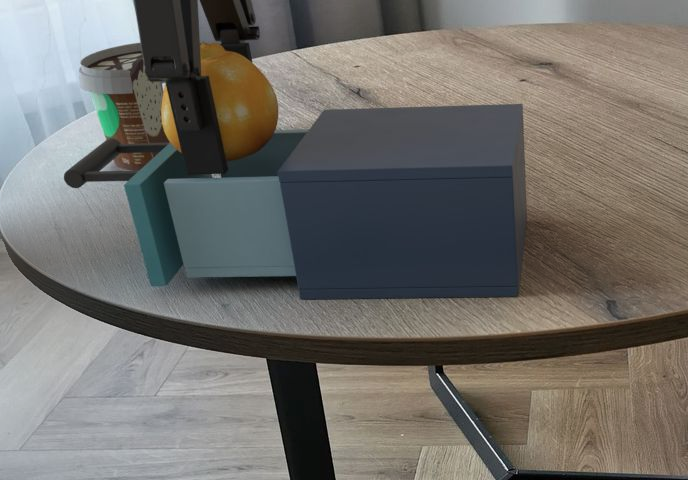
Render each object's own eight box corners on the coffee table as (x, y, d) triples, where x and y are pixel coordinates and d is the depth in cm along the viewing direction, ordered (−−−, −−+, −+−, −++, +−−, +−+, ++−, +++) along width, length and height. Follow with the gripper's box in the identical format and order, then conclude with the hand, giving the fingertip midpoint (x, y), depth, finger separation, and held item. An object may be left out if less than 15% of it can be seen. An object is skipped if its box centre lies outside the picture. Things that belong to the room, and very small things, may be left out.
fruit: (162, 110, 73) (147, 26, 66) (271, 103, 75) (267, 21, 68) (173, 194, 69) (158, 115, 62) (287, 184, 71) (285, 106, 64)
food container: (117, 140, 102) (92, 44, 97) (176, 135, 103) (154, 39, 98) (87, 181, 92) (57, 76, 87) (153, 175, 92) (126, 70, 87)
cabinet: (300, 299, 68) (277, 171, 63) (340, 222, 80) (323, 109, 75) (518, 296, 67) (512, 165, 62) (527, 219, 79) (522, 103, 74)
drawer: (75, 287, 70) (42, 184, 66) (141, 219, 80) (117, 127, 76) (347, 283, 68) (331, 177, 64) (378, 214, 79) (366, 119, 75)
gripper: (147, -209, 49) (233, 204, 61) (263, -214, 67) (312, 105, 79) (7, -201, 50) (119, 207, 61) (159, -208, 68) (223, 108, 79)
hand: (227, 150), depth 70 cm, fingers closed on fruit, 8 cm apart
